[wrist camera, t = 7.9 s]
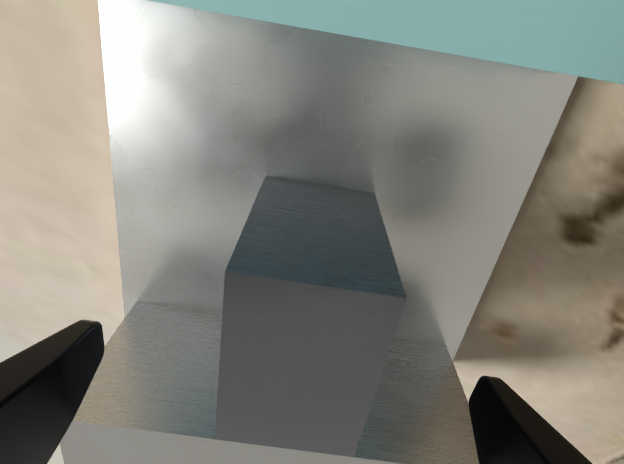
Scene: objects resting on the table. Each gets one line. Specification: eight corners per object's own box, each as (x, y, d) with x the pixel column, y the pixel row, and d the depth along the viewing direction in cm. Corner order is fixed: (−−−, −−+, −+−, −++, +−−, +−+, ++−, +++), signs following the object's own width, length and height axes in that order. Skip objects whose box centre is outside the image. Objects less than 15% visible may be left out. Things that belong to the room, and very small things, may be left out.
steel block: (374, 192, 12) (406, 298, 7) (344, 315, 15) (353, 457, 10) (265, 175, 12) (224, 271, 7) (252, 301, 14) (214, 439, 10)
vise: (646, -149, 9) (1099, -402, 4) (435, 361, 17) (487, 517, 12) (103, -259, 9) (-264, -736, 3) (139, 319, 17) (46, 462, 11)
